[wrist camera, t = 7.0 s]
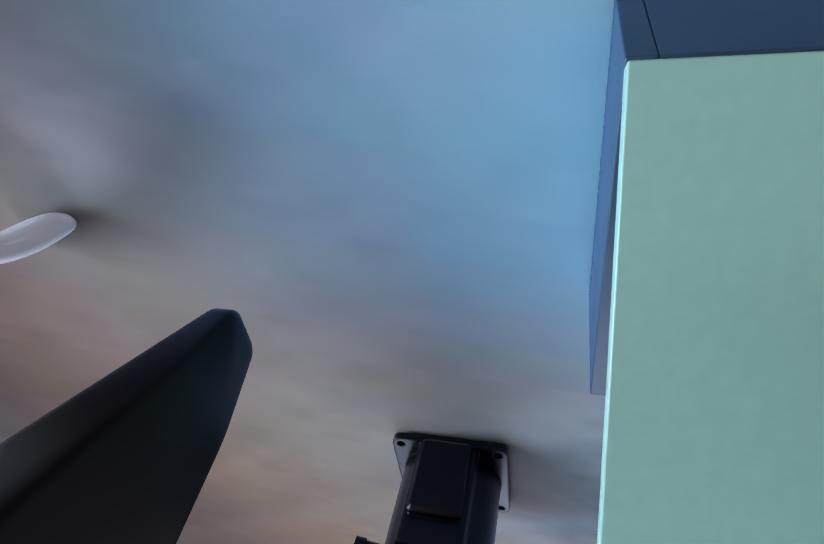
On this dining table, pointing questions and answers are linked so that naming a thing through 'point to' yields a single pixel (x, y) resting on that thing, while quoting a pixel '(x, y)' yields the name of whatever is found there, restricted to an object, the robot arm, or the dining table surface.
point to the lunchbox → (676, 38)
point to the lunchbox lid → (717, 305)
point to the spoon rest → (34, 235)
